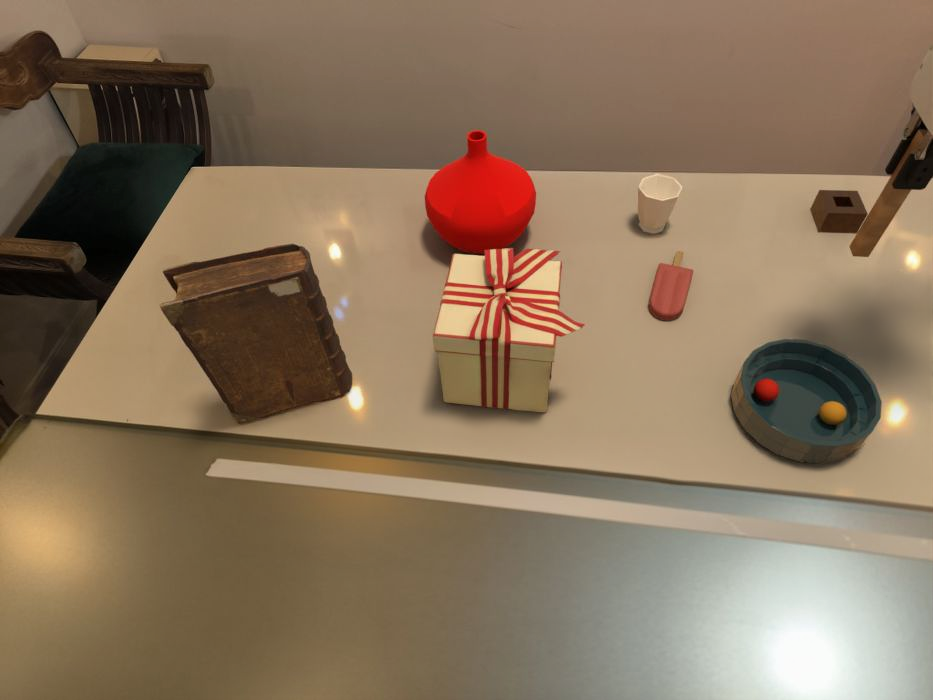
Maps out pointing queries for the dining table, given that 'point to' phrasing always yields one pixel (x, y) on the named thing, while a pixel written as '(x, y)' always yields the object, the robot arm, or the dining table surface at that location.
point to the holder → (838, 211)
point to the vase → (480, 199)
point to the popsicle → (670, 289)
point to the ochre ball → (832, 413)
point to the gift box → (500, 328)
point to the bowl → (806, 400)
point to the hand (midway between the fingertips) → (904, 179)
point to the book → (259, 330)
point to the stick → (883, 208)
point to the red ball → (766, 390)
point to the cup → (656, 201)
